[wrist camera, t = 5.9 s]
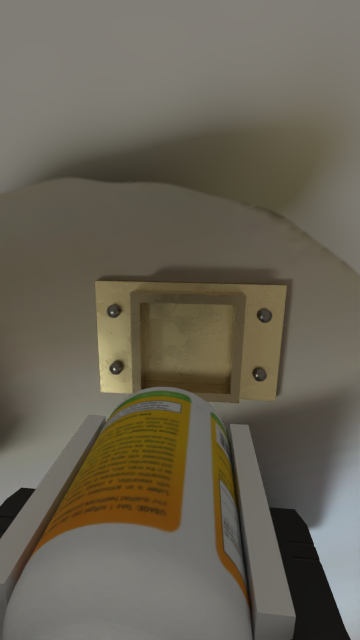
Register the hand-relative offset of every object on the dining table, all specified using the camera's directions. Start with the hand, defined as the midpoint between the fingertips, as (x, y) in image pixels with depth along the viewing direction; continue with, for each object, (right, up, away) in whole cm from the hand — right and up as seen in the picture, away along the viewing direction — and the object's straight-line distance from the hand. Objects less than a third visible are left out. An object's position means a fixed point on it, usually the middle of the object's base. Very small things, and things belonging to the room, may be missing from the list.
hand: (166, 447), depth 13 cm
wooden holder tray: (+1, +4, +15) cm, 15 cm away
